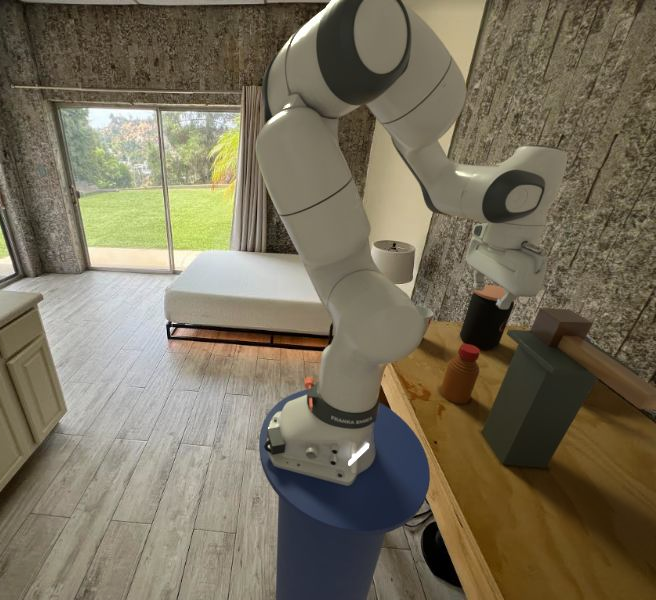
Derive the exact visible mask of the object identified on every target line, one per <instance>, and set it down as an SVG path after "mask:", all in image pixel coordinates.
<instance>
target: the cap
mask: <svg viewBox="0 0 656 600" xmlns="http://www.w3.org/2000/svg"><path fill="white" fill-rule="evenodd" d="M480 352H481V350H480V349H479V348H477V347H476V346H473V345H470V344H465V343H462V344H460V346H459V349H458V352H457V356H460V357H461V358H463V359H465V360H469V361H476V362H477V360H478V359H479V356H480Z"/></svg>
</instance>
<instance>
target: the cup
mask: <svg viewBox="0 0 656 600" xmlns="http://www.w3.org/2000/svg"><path fill="white" fill-rule="evenodd" d="M415 306H416V308H417V309H418V311H419V312H420V314H421V316H422V317H423V320H424V324H425V332H424V336H425V335H426V333H427V331H428V329H429V327H430V324H431V321H432V318H433V315H434V312H433V311H432V310H431V309H429V308H427V307H425V306H422V305H415Z"/></svg>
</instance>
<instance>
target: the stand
mask: <svg viewBox="0 0 656 600" xmlns="http://www.w3.org/2000/svg"><path fill="white" fill-rule="evenodd" d="M506 335H507V336H508V337H509V338H510V339H511V340H513V341H514V342H515V343H516V344H517V346H516V348H515V351H514V353H513V355H512V358H511V360H510V362H509V364H508V367H507V370H506V373H505V375H504V377H503V380H502V382H501V384H500V387H499V390H498V392H497V394H496V396H495V399H494V401H493V404H492V406H491V409H490V411H489V413H488V416H487V418H486V420H485V423H484V425H483V428H482V430H481V434H482V436H483V437H484V438H485V440H486V442H487V443H488V444H489V446H490V448H491V449H492V451H493V452H494V454H495V455H496V457H497V458H498V460H499V461H500V463H501V464H502V465H505V466H515V467H516V466H517V467H529V468H541V469H542V468H543V469H546V468H547V467H548V466H549V463H550V461H551V460H552V458H553V457H554V455H555V453H556V451H557V449H558V448H559V446H560V444H561V443H562V440H563V439H564V437H565V436H566V434H567V432H568V430H569V429H570V427H571V425H572V423H573V422H574V420H575V419H576V417H577V415H578V414H579V412H580V410H581V408H582V406H583V405H584V403H585V401H586V399H587V398H588V396H589V394H590V392H591V391H592V389H593V388H594V385H595V383H596V382H597V380H598V379H599V378H598V377H596V376H595V375H594V374H592V373H591V372H590V371H588V370H587V369H586V368H584V367H583V366H582V365H580V364H579V363H578V362H576V361H575V360H574V359H572V358H571V357H570V356H568V355H567V354H566V353H564V352H563V351H562V350H560V349H559V348H558V347H549V346H547V345H546V344H545V343H544V342H542V341H541V340H540V339H538V338H537V337H536V336H535V335H533V334H532V333H531V332H530V330H525V329H523V330H522V329H507V332H506ZM584 341H586V342H587V343H589V344H590V345H592V346H593V347H595V348H596V349H598V350H599V351H601V352H602V353H604V354H606V355H607V356H609V357H610V358H612V359H613V360H615V361H616V362H618V363H619V364H621V365H622V366H624V367H625V368H627V369H628V370H630V371H631V372H633V373H634V374H636V375H637V376H640V372H638V371H636V370H635V369H634V368H632V367H630V366H629V365H628V364H626V363H624V362H623V361H621V360H619V359H618V358H617V357H615V356H614V355H612V354H611V353H609V352H608V351H606V350H605V349H603V348H601V347H600V346H599V345H597V344H596V345H595V344H594V343H592V342H590V341H589V340H587V339H586V338H585V340H584Z"/></svg>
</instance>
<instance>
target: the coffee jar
mask: <svg viewBox="0 0 656 600" xmlns="http://www.w3.org/2000/svg"><path fill="white" fill-rule="evenodd" d="M504 290H505V288H503V287H502V286H497V285H492V284H486V285H485V287H484V290H482V291H480V290H476V289H474V288H473V292H474V293H472V295H471V297H470V300H469V304H468V307H467V310H466V314H465V316H464V319H463V323H462V326H461V329H460V333H459V336H460V339H461V341H462V343H463V344H470V345H473V346H476V347H477V348H479V350H480V351H491V350H494V349H496V348H497V347H499V345H500V343H501V341H502V337H503V334H504V332H505V329H506V328H507V324H508V322H509V320H510V317H511V314H512V312H513V310H514V306H515V301H516V300H517V298H516V299H515V300H514V301H512V302H511V304H510V307H509V309H500V308H499V307H498V306H496V303H497V300H498V298H502V297H503V296H504V295H505V294H504Z"/></svg>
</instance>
